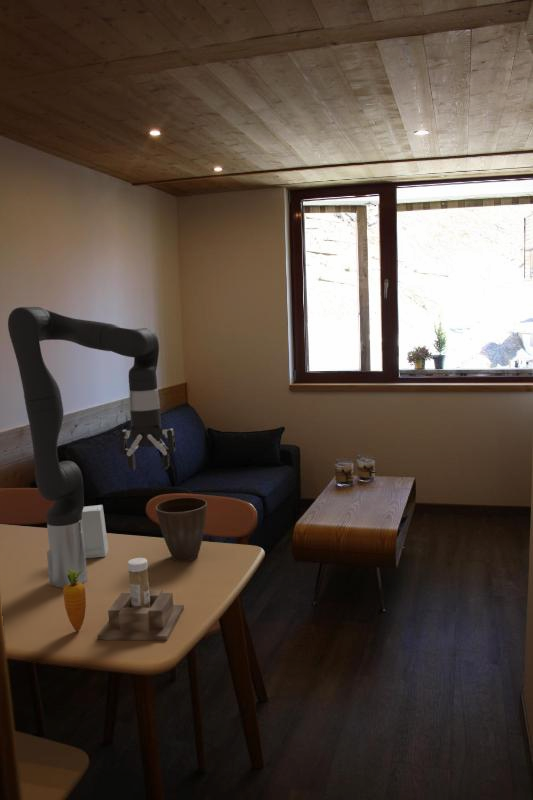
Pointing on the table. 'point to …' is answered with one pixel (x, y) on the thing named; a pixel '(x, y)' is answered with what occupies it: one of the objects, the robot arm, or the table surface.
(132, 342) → the robot arm
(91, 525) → the skincare box
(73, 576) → the carrot
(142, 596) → the sprinkles bottle
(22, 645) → the table surface
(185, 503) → the plant pot
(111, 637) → the socket block
